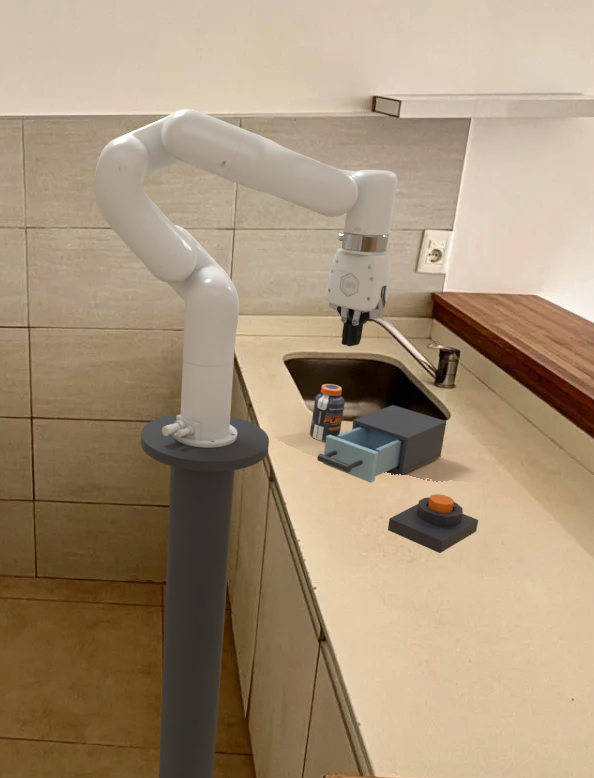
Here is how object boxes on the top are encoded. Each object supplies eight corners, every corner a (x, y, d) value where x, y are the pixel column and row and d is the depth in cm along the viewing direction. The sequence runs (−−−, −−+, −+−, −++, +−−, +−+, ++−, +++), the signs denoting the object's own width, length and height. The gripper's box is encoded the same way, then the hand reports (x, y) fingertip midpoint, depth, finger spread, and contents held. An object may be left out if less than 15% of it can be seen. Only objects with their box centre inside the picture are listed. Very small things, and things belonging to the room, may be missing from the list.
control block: (439, 553, 118) (444, 530, 117) (387, 530, 125) (390, 508, 124) (476, 531, 124) (480, 509, 123) (424, 510, 131) (427, 489, 130)
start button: (444, 516, 122) (446, 506, 121) (423, 507, 125) (425, 498, 124) (456, 509, 124) (458, 500, 123) (435, 501, 127) (437, 492, 126)
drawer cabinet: (402, 475, 144) (407, 437, 142) (348, 455, 153) (353, 419, 150) (440, 456, 152) (446, 421, 149) (388, 438, 161) (392, 404, 158)
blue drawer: (354, 490, 136) (358, 460, 134) (306, 470, 144) (309, 442, 142) (409, 465, 146) (413, 437, 144) (361, 447, 154) (365, 421, 152)
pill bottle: (322, 444, 158) (329, 393, 154) (303, 433, 163) (310, 383, 159) (345, 440, 160) (353, 389, 156) (326, 429, 165) (333, 380, 161)
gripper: (316, 239, 138) (304, 338, 144) (389, 251, 126) (373, 357, 133) (342, 236, 142) (330, 332, 148) (416, 247, 130) (398, 351, 137)
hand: (350, 344), depth 140 cm, fingers closed
